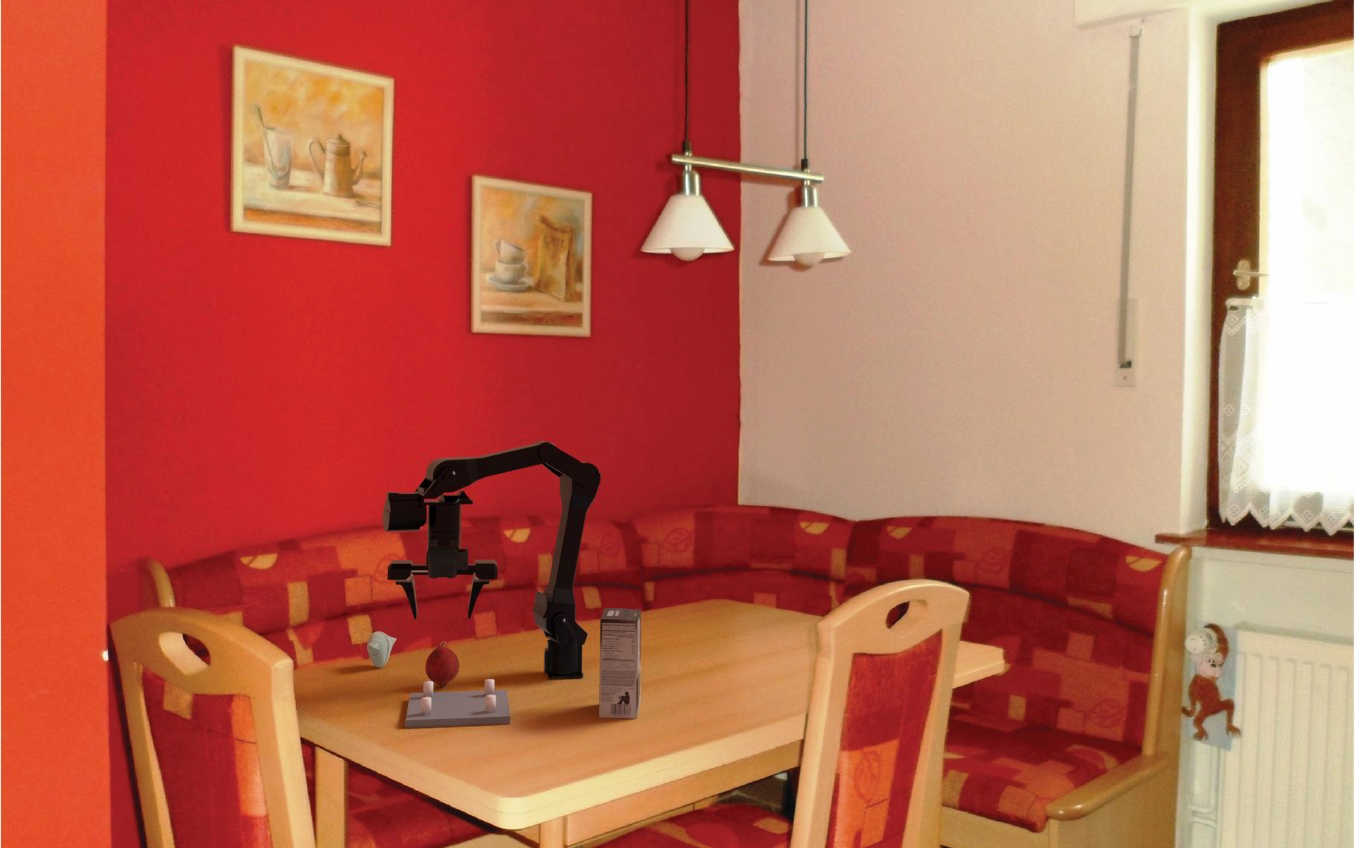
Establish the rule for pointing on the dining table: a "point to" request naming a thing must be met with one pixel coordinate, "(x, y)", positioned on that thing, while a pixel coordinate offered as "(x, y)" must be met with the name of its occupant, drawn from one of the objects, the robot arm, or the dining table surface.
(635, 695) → the coffee box
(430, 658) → the onion
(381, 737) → the dining table surface
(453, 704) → the plate
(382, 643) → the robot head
